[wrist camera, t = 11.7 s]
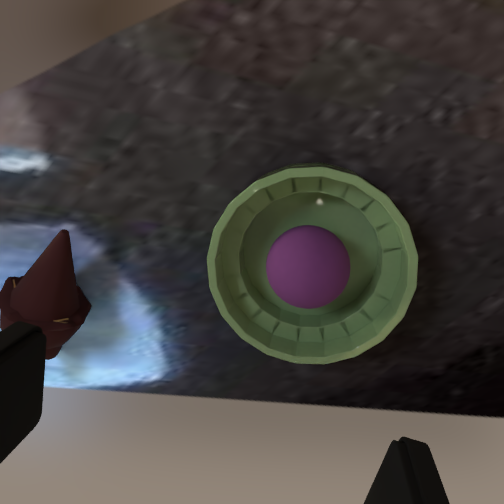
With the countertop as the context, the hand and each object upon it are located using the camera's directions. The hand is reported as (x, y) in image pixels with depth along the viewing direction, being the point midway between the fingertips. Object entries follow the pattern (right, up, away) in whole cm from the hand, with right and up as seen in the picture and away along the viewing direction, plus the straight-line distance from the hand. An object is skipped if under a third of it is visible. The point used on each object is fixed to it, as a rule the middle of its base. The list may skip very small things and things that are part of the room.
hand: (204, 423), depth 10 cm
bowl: (+6, +4, +21) cm, 23 cm away
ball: (+5, +3, +18) cm, 19 cm away
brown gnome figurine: (-16, +1, +26) cm, 30 cm away
